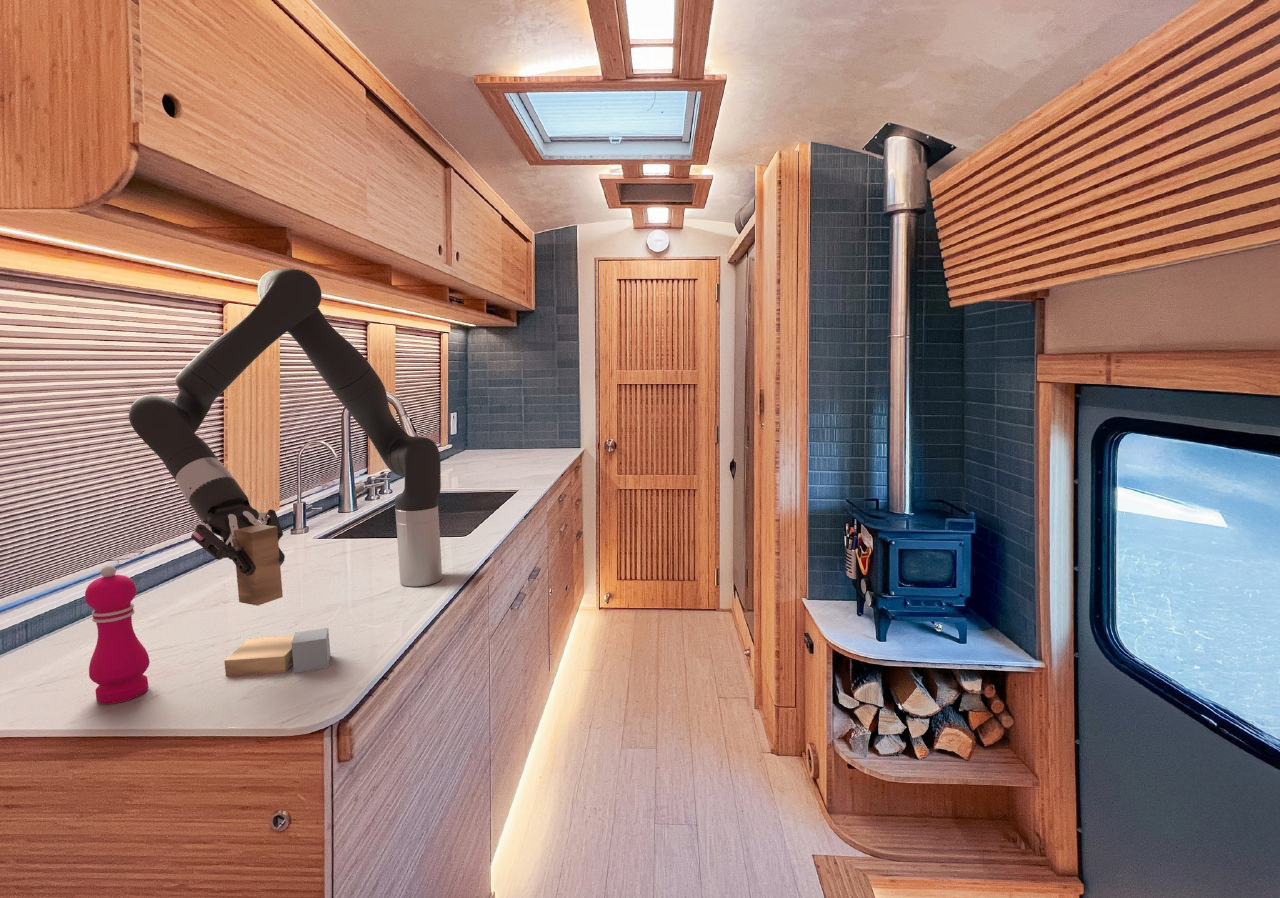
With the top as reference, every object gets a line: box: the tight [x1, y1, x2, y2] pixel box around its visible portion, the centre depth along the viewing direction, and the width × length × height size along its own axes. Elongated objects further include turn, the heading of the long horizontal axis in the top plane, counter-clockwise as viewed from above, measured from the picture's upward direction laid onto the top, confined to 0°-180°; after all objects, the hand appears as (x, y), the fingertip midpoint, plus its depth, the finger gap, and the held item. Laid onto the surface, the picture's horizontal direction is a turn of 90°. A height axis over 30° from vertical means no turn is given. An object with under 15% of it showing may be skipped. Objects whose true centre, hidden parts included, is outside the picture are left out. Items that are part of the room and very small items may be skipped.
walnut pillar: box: [234, 524, 284, 607], centre depth 110 cm, size 4×4×12 cm
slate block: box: [291, 627, 331, 674], centre depth 110 cm, size 5×5×5 cm
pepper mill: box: [84, 565, 150, 705], centre depth 100 cm, size 7×7×20 cm
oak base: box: [223, 634, 295, 677], centre depth 112 cm, size 9×9×3 cm
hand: (266, 567), depth 109 cm, fingers closed on walnut pillar, 4 cm apart
